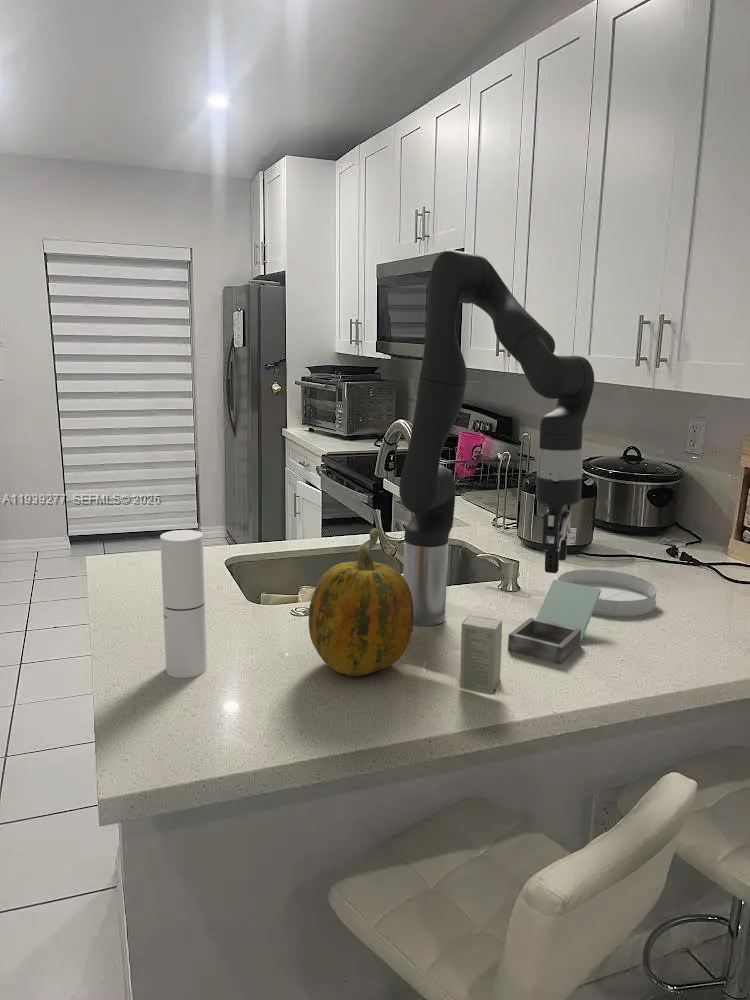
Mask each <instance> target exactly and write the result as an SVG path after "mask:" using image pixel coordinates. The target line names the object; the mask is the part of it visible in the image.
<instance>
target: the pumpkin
mask: <svg viewBox="0 0 750 1000" xmlns="http://www.w3.org/2000/svg"><path fill="white" fill-rule="evenodd" d="M381 531H382V529H377V527H374V528H372V529H370V530H369V533H368V534H369V538H370V539H368V540H367V541H364V542H363V543H362V544H360V545H359V547H358V552H357V560H356V561H345V562H341V563H338V564H336V565H334V566H332V567H331V568H329V569H328V570H327V571H325V573H324V574H323V575H322V576H321V578H320V579H319V581H318V583H317V585H316V587H315V589H314V591H313V594H312V596H311V599H310V603H309V609H308V630H309V637H310V640H311V643H312V645H313V647H314V649H315V651H316V652H317V654H318V655H319V657H320V658H321V660H322V661H323V662H324V663H325V664H326V665H327V667H329V668H330V669H332V670H334V671H336V672H338V673H340V674H343V675H347V676H353V677H354V676H355V677H356V676H357V677H359V676H364V675H369V674H372V673H374V672H377V671H380V670H383V669H386V668H389V667H391V666H393V665H395V663H396V662H398V660H399V659H400V658H401V657H402V656H403V654H404V653H405V651H406V649H407V648H408V646H409V644H410V641H411V637H412V634H413V633H414V632H413V631H414V624H413V621H414V609H413V599H412V594H411V591H410V588H409V586H408V584H407V582H406V580H405V579H404V578H403V577H402V575H401V574H400V572H398V571H397V570H396V569H394V568H393V567H392V566H390V565H388V564H385V563H380V562H377V561H373V558H372V557H373V556H372V555H371V554H370V551H371V550H372V549H373V548H374V547H375V546H376V544H377V542H378V540H379V537H380V536H381V534H380V532H381Z"/></svg>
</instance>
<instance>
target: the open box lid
mask: <svg viewBox="0 0 750 1000" xmlns="http://www.w3.org/2000/svg"><path fill="white" fill-rule="evenodd" d="M600 593H601V589H598V588H593V587H588V586H583V585H578V584H573V583H569V582H564V581H559V580H558V579H553V580H552V582H551V584H550V587H549V589H548V591H547V593H546V596H545V598H544V600H543V602H542V605H541V607H540V609H539V611H538V614H537V616H536V618H535V619H538V620H542V621H546V622H550V623H555V624H559V625H563V626H567V627H572V628H576V629H580V630H581V639H580V644H581V643H582V641H583V638H584V637H585V633H586V631H587V628H588V625H589V623H590V621H591V618H592V616H593V614H594V613H593V611H594V608H595V606H596V603H597V601H598V599H600V598H599V596H600Z"/></svg>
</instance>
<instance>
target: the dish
mask: <svg viewBox="0 0 750 1000" xmlns="http://www.w3.org/2000/svg"><path fill="white" fill-rule="evenodd" d="M557 580H559V581H564V582H569V583H573V584H578V585H583V586H588V587H593V588H598V589H601V593H600V596H599V598H598V601H597V603H596V606H595V608H594V611H593V613H592V614H595V615H602V616H612V617H614V616H615V617H633V616H641V615H644V614H648V613H650V612H652V611H654V610H656V607H657V601H656V598H657V589H656V586H655V585H653V584H652V583H651V582H650V581H648V580H647V579H644V578H642V577H638V576H636V575H633V574H628V573H624V572H619V571H613V570H607V569H606V570H604V569H575V570H571V571H566V572H564V573H562V574H560V575H559V577H558V578H557Z"/></svg>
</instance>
